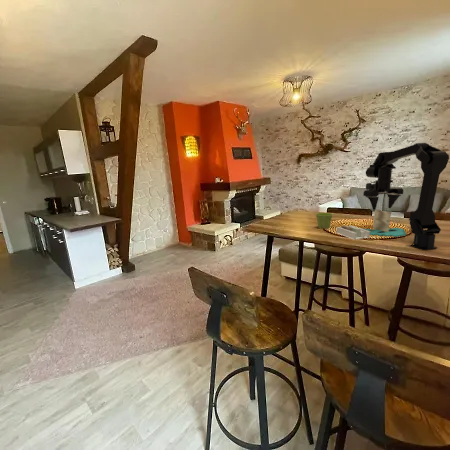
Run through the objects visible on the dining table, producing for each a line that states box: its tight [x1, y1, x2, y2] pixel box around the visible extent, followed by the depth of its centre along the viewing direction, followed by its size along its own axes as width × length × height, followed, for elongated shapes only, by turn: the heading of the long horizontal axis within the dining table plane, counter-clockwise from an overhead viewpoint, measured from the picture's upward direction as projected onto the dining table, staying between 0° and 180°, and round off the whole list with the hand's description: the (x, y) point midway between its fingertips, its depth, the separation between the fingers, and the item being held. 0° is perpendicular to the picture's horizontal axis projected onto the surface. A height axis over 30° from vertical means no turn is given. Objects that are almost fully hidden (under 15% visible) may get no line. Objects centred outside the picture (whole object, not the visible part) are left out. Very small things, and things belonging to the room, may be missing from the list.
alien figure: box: [361, 227, 407, 238], centre depth 133 cm, size 20×2×20 cm
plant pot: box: [315, 212, 334, 229], centre depth 148 cm, size 9×9×9 cm
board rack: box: [334, 224, 371, 240], centre depth 130 cm, size 14×10×4 cm
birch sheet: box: [372, 209, 392, 232], centre depth 132 cm, size 9×1×10 cm, turn 12°
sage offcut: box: [350, 226, 360, 237], centre depth 128 cm, size 6×1×4 cm, turn 11°
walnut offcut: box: [340, 225, 351, 231], centre depth 131 cm, size 6×1×4 cm, turn 11°
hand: (381, 209), depth 131 cm, fingers open, 9 cm apart
